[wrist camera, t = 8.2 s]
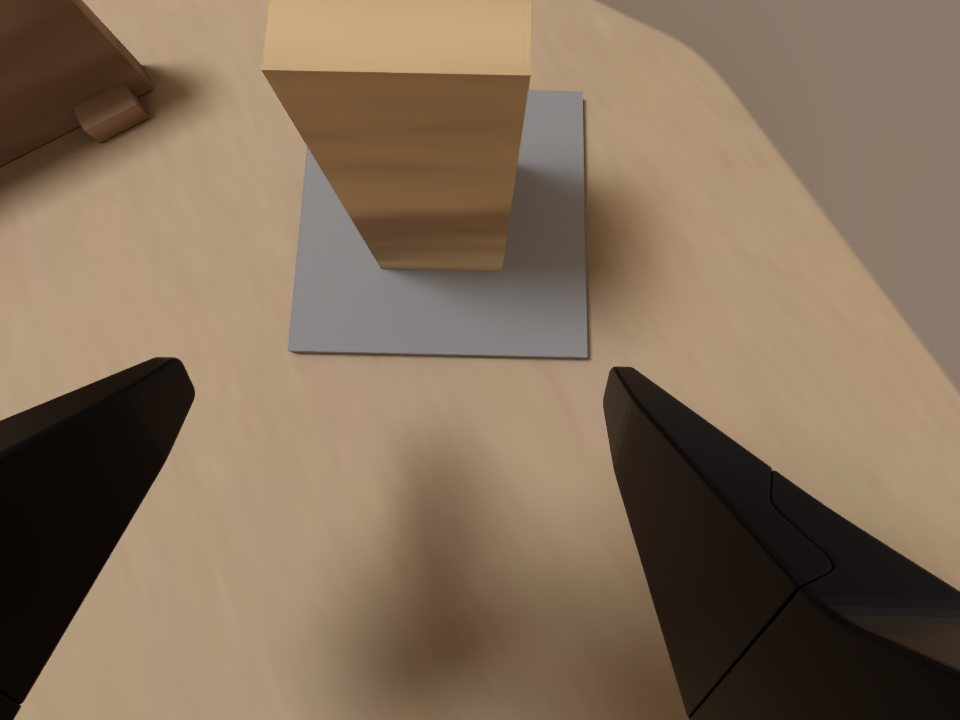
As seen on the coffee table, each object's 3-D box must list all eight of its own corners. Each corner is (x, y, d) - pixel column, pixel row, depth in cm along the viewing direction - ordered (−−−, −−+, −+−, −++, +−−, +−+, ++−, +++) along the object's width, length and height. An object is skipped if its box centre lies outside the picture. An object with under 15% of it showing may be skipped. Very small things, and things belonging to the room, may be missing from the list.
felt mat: (585, 359, 18) (587, 357, 17) (292, 352, 18) (287, 350, 17) (580, 98, 20) (582, 91, 19) (316, 92, 20) (313, 85, 19)
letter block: (502, 271, 18) (530, 75, 8) (381, 268, 18) (261, 69, 8) (503, 158, 19) (530, -145, 9) (387, 156, 19) (287, -150, 9)
